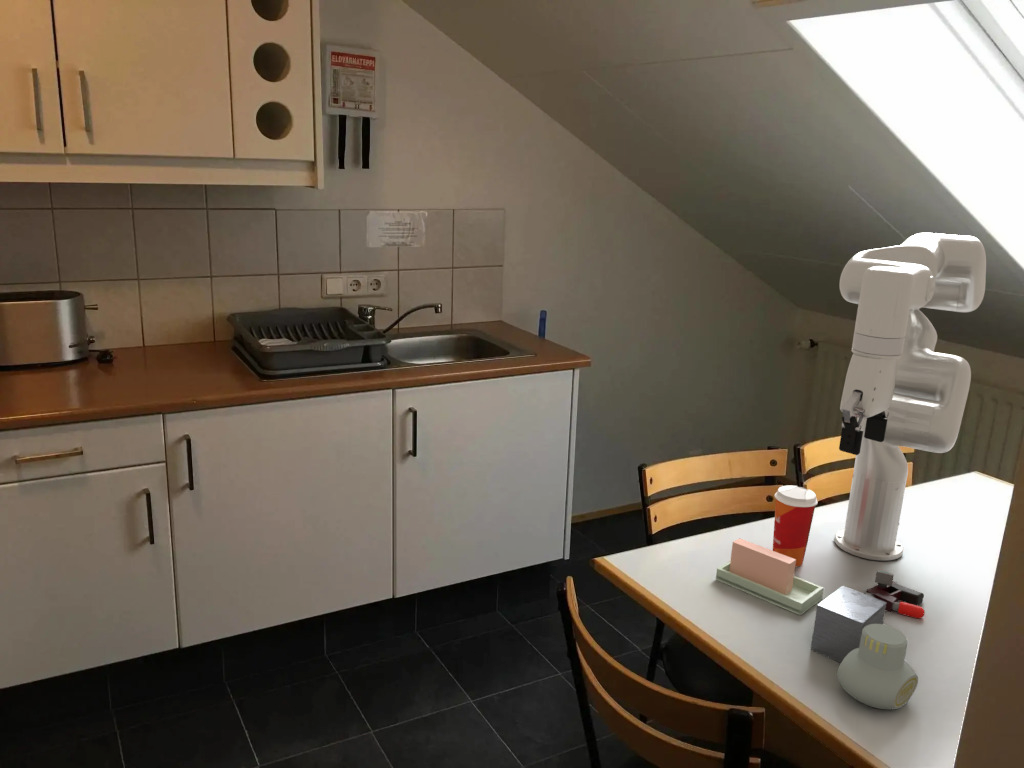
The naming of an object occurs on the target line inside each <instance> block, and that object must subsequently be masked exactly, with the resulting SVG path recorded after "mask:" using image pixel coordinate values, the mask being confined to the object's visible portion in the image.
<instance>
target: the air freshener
mask: <svg viewBox="0 0 1024 768" xmlns="http://www.w3.org/2000/svg"><path fill="white" fill-rule="evenodd" d="M907 647H908V638H907V636H906V635H905V634H904V633H903V632H902V631H901V630H899V629H897V628H895V627H894V626H891V625H887V624H885V623H883V624H870V625H867V626H865V627H864V628H863V630H862V635H861V641H860V646H859V648H856V649H854V650H852V651H851V652H850V653H849V654H848V655H847V656H846V657H845V658H844V659H843V661H842V662H841V663H840V664H839V666H838V668H837V672H836V676H837V679H838V682H839V683H840V685H841V687H842V688H843V690H845V692H846V693H848V695H850V696H851V697H853V698H854V699H855V700H856V701H858V702H860V703H862V704H864V705H865V706H869V707H872V708H877V709H881V710H896V709H897V710H898V709H901V708H902V707H903V706H905V705H906V704H907V702H909V700H910V699H912V696H913V695H914V693H915V691H916V689H917V686H918V684H919V683H918V682H919V677H918V674H917V673H916V671H915V670H914V668H913V667H912V666H911V665H910V664H909V663H908V662H907V661H906V660H905V659H906V653H907Z"/></svg>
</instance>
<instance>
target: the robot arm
mask: <svg viewBox="0 0 1024 768" xmlns="http://www.w3.org/2000/svg"><path fill="white" fill-rule="evenodd" d="M986 255H987V254H986V250H985V247H984V245H983V243H982V241H981V240H980V239H978V238H977V237H975V236H972V235H960V234H959V235H958V234H946V233H937V232H935V233H933V232H919V233H915V234H914V235H913V234H912V235H911V236H909V237H908V238H906V239H905V240H903V242H902V243H901V244H900V245H893V246H887V247H881V248H873V249H872V248H871V249H867V250H862V251H859V252H858V253H855V254H854V255H853V256H852V257H851V258H850V259H849V260H848V261H847V263H845V266H844V267H843V269H842V271H841V273H840V277H839V292H840V294H841V296H842V298H843V299H844V300H845V301H846V302H849V303H852V304H856V305H857V306H858V307H857V311H856V319H855V326H854V331H853V337H852V338H853V339H852V344H851V352H852V356H851V358H850V361H849V364H848V366H847V367H848V368H847V372H846V375H845V380H844V384H843V385H844V386H843V390H842V395H841V399H840V400H841V401H840V405H839V410H840V411H841V412H842V417H841V420H842V421H841V432H840V441H839V445H838V449H839V451H841V452H843V453H844V452H845V453H847V454H851V455H855V461H854V467H853V473H852V479H851V485H850V493H849V499H848V504H847V505H848V506H847V512H846V518H845V523H844V528H842V529H840V530H837V532H836V533H835V534H834V542H835V544H836V545H837V546H838V548H840V549H841V550H842V551H844V552H846V553H848V554H850V555H853V556H856V557H858V558H863V559H866V560H871V561H883V562H885V561H893V560H894V561H895V560H896V559H899V558H901V557H902V556H903V552H904V546H903V544H902V543H901V542H900V541H899V540H898V539H897V536H898V532H899V526H900V519H901V518H900V517H901V514H902V507H903V501H904V496H905V490H906V484H907V481H908V480H907V479H908V474H909V465H908V462H907V459H906V457H905V455H904V453H903V451H902V450H901V448H900V447H905V448H910V449H914V450H919V451H920V450H921V451H925V452H931V453H936V454H937V453H938V454H943V453H947V452H949V451H951V449H952V448H953V447H954V446H955V443H956V441H957V439H958V436H959V432H960V429H961V425H962V420H963V416H964V411H965V408H966V403H967V400H968V396H969V391H970V387H971V379H972V369H971V366H970V364H969V362H968V360H966V359H965V358H964V357H962V356H958V355H956V354H949V353H943V352H937V351H936V352H935V348H936V345H937V342H938V334H937V330H936V329H935V327H934V326H933V325H934V324H932V322H931V321H930V320H929V318H928V317H927V316H926V315H925V314H924V313H923V311H921V310H920V309H922V308H926V309H932V310H933V309H934V310H940V311H949V312H956V313H971V312H973V311H976V310H977V309H978V308H979V307H980V305H981V304H982V302H983V300H984V297H985V292H986V279H987V278H986V277H987V276H986V275H987V274H986V273H987V257H986Z"/></svg>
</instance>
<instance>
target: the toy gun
mask: <svg viewBox="0 0 1024 768" xmlns="http://www.w3.org/2000/svg"><path fill="white" fill-rule="evenodd" d="M894 576H895V575H894V574H892V573H890V572H886V571H882V570H881V571H880V570H876V572H875V578H874V583H876V585H874V586H872V587H870V588H867V589H865V592H862V593H863V594H866V595H868V596H871V597H874V598H876V599H879V600H881V601H884V602H887V603H886V609H885V612H888V613H890V614H891V613H892V612H893V611H896V612H897V613H898V614H899V615H903V616H907V617H911V618H915V619H922V618H924V616H925V609H924V608H923V607H922V606H920V605H921V604H923V602H924V595H925V594H924V593H922V592H921V591H917V590H915V589H911V588H910V587H909V588H908V587H905V586H903V585H901V584H899V583H898V582H897V581H894Z"/></svg>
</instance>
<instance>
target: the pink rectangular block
mask: <svg viewBox="0 0 1024 768" xmlns="http://www.w3.org/2000/svg"><path fill="white" fill-rule="evenodd" d="M729 561H730V569H729V572H731V573H733V574H736V575H738V576H741V577H743V578H746V579H748V580H750V581H753V582H755V583H758V584H760V585H762V586H765V587H767V588H770V589H772V590H775V591H777V592H779V593H782V594H784V595H786V594H788V593H789V592H791V591H792V586H793V579H794V576H795V572H796V571H795V570H796V567H795V565H796V559H793V558H791V557H788V556H785V555H783V554H780V553H778V552H775V551H773V549H769V548H768V547H767V548H766V547H764V546H762V545H759V544H756V543H754V542H752V541H751V542H750V541H748V540H746V539H743V538H738V539H736V540H735V539H734V540H733V541H732V547H731V555H730V560H729Z"/></svg>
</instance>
